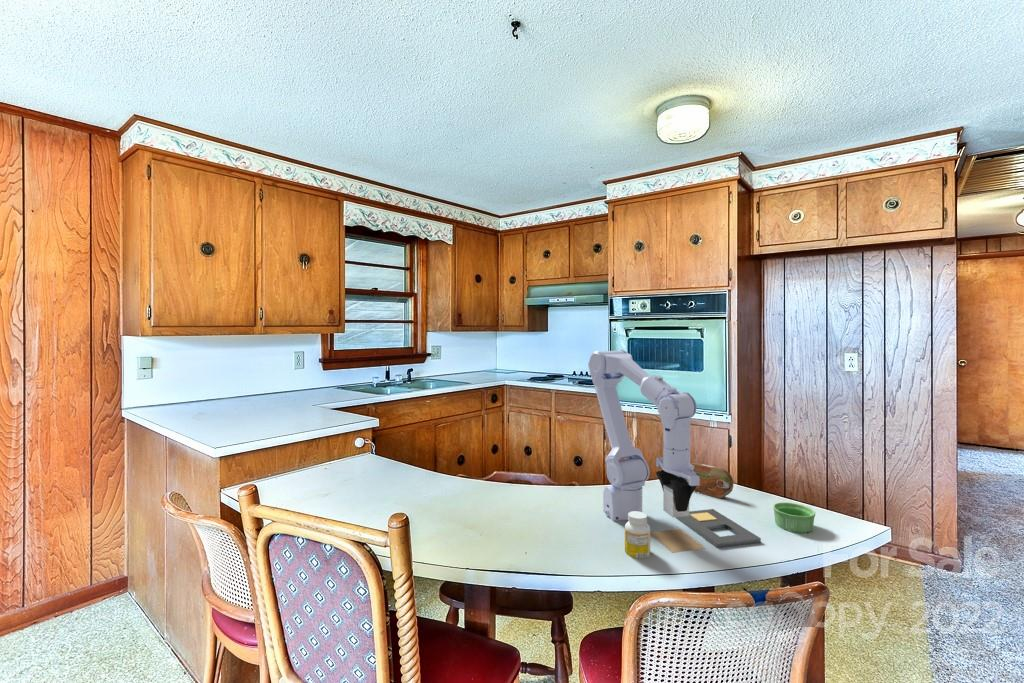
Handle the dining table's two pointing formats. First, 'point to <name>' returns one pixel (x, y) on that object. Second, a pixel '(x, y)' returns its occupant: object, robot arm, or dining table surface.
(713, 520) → the rack plate
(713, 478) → the tin
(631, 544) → the supplement bottle
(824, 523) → the dining table surface
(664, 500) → the steel peg
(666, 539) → the pad
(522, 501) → the dining table surface
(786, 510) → the ramekin
